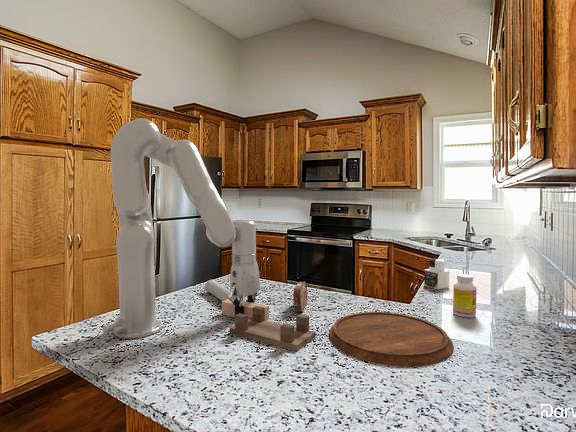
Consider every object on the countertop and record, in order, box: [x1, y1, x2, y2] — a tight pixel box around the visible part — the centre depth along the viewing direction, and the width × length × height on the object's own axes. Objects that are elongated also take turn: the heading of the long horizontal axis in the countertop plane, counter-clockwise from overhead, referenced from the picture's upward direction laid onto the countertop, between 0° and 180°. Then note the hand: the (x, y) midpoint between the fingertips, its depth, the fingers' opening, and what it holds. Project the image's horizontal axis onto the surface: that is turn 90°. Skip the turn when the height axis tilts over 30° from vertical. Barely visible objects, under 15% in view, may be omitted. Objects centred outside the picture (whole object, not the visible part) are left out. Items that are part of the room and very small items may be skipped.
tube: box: [204, 279, 240, 302], centre depth 130 cm, size 5×5×25 cm
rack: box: [229, 306, 317, 352], centre depth 95 cm, size 10×22×6 cm, turn 58°
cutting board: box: [328, 311, 455, 368], centre depth 93 cm, size 32×32×3 cm
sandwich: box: [292, 281, 308, 313], centre depth 119 cm, size 15×3×8 cm, turn 168°
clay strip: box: [221, 299, 270, 321], centre depth 110 cm, size 4×16×4 cm, turn 59°
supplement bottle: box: [452, 273, 477, 319], centre depth 111 cm, size 7×7×13 cm
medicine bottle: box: [423, 257, 450, 290], centre depth 146 cm, size 7×7×12 cm
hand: (244, 314), depth 110 cm, fingers open, 4 cm apart
